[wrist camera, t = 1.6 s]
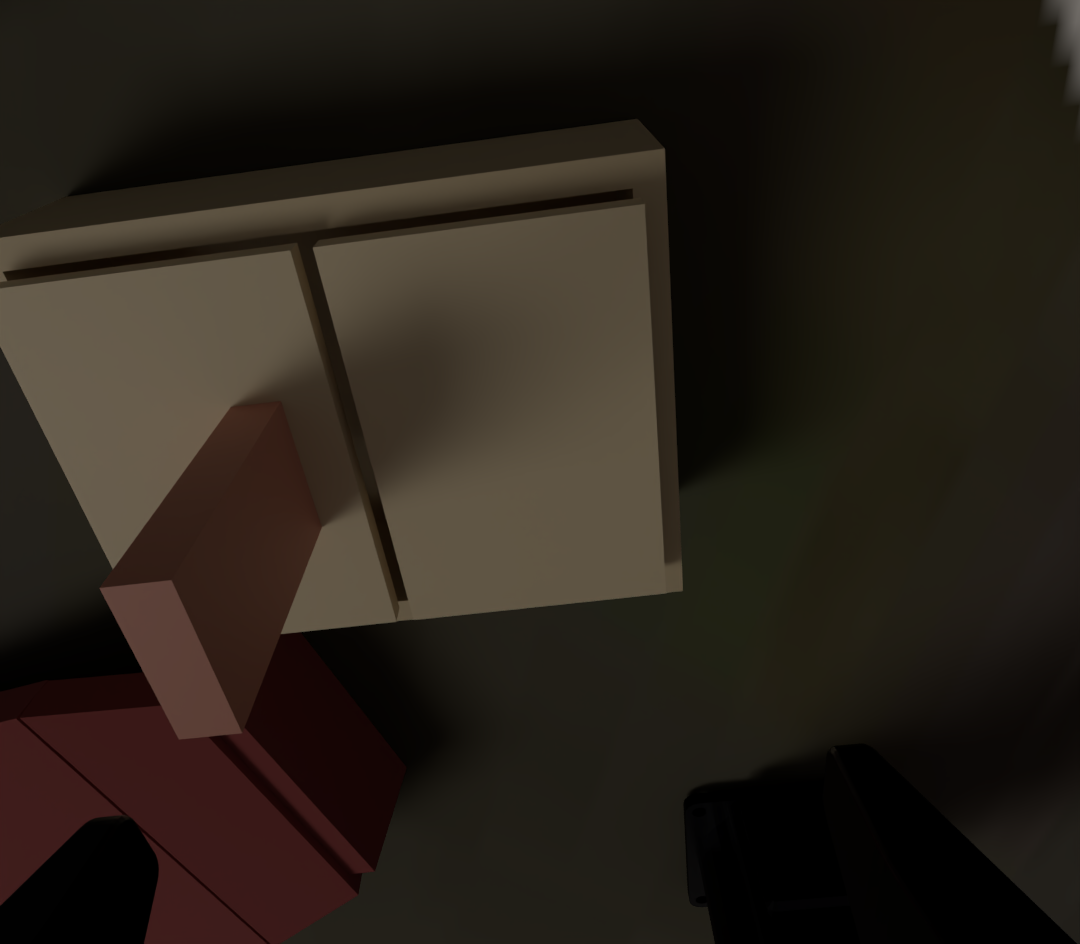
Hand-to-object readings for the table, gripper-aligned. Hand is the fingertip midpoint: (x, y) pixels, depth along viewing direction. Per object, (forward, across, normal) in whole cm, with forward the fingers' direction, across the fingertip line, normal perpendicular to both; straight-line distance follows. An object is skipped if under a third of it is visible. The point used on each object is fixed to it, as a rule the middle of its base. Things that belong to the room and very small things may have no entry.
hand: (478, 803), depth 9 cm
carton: (+14, +19, +15) cm, 28 cm away
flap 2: (+9, 0, 0) cm, 9 cm away
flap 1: (+9, +6, 0) cm, 11 cm away
